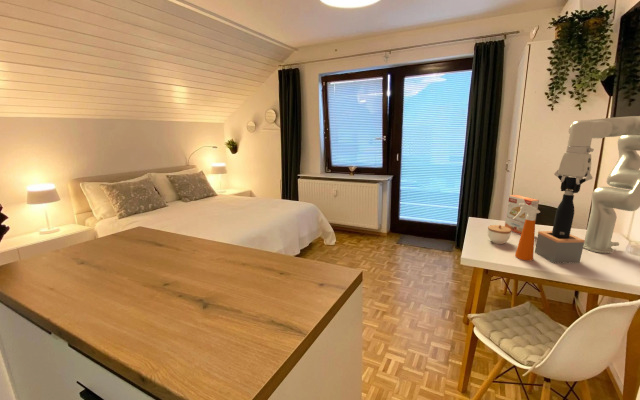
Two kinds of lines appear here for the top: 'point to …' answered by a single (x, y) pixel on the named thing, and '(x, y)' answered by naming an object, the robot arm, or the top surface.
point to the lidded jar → (498, 234)
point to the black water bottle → (565, 212)
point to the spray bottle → (527, 233)
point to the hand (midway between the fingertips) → (569, 191)
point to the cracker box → (514, 209)
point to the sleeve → (559, 248)
